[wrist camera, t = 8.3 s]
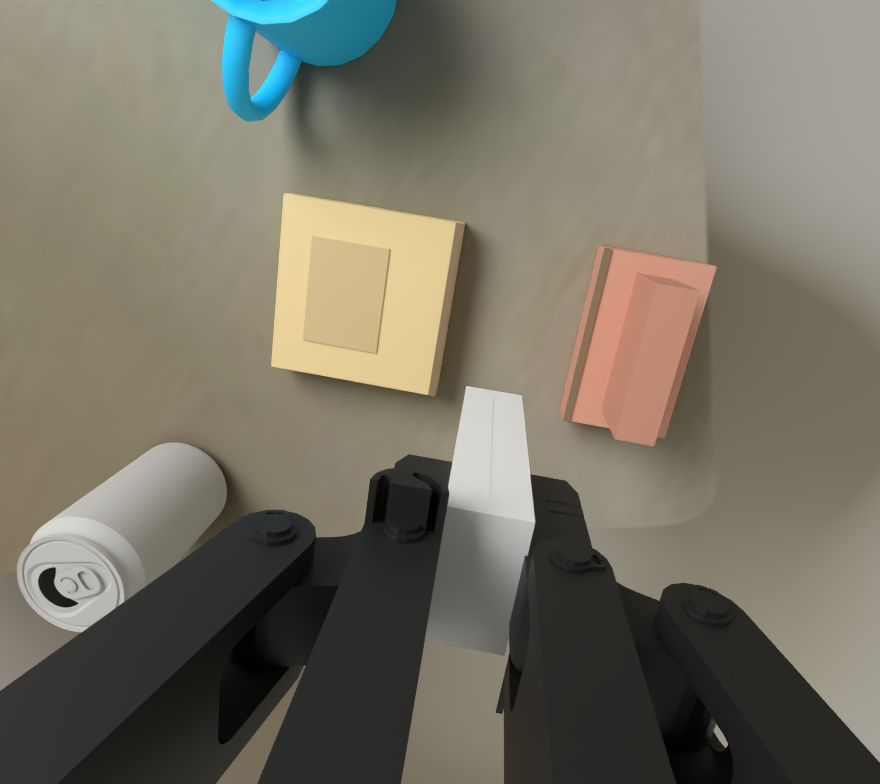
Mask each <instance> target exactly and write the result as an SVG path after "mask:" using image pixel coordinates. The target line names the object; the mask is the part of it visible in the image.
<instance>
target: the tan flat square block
mask: <svg viewBox="0 0 880 784" xmlns="http://www.w3.org/2000/svg"><path fill="white" fill-rule="evenodd" d="M464 228H465V222H460V221H454V220H448V219H443V218H437V217H431V216H425V215H419V214H413V213H407V212H401V211H396V210H390V209H384V208H378V207H372V206H366V205H360V204H355V203H349V202H343V201H337V200H331V199H325V198H319V197H313V196H308V195H302V194H296V193H284V198H283V212H282V226H281V239H280V253H279V267H278V281H277V294H276V308H275V322H274V336H273V349H272V363H271V366H273V367H278V368H283V369H289V370H294V371H300V372H305V373H311V374H316V375H322V376H327V377H333V378H338V379H343V380H349V381H354V382H360V383H365V384H371V385H376V386H382V387H387V388H393V389H398V390H404V391H409V392H414V393H420V394H425V395H428V396H433V397H435V394H436V391H437V388H438V384H439V378H440V372H441V366H442V360H443V354H444V348H445V342H446V336H447V330H448V324H449V318H450V312H451V306H452V300H453V294H454V288H455V282H456V276H457V270H458V264H459V258H460V252H461V246H462V240H463V234H464Z"/></svg>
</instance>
